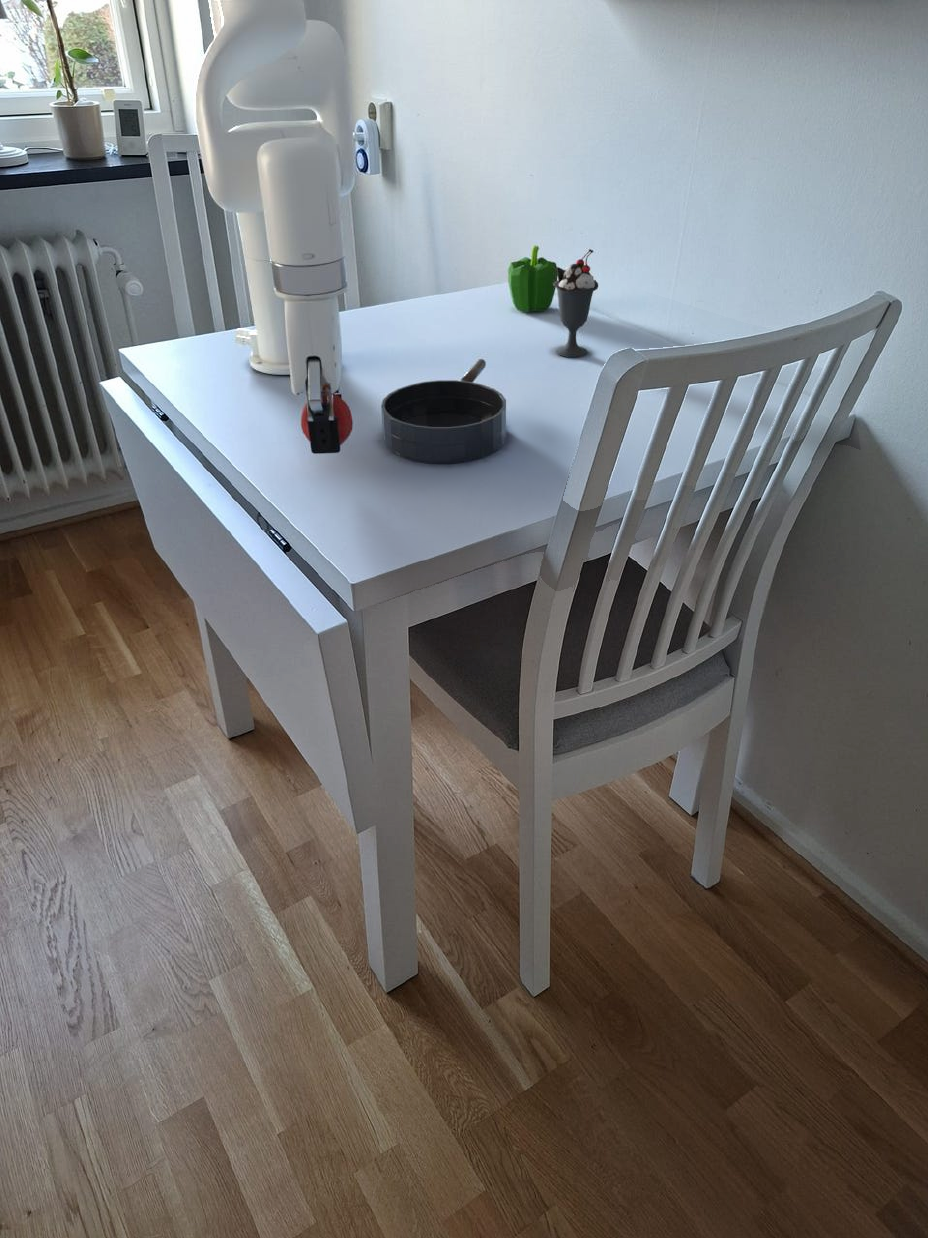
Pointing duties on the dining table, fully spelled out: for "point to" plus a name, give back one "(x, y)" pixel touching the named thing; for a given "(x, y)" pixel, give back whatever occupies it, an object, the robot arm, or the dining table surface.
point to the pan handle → (474, 371)
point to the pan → (444, 421)
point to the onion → (339, 411)
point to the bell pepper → (532, 282)
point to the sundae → (574, 302)
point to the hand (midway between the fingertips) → (328, 438)
